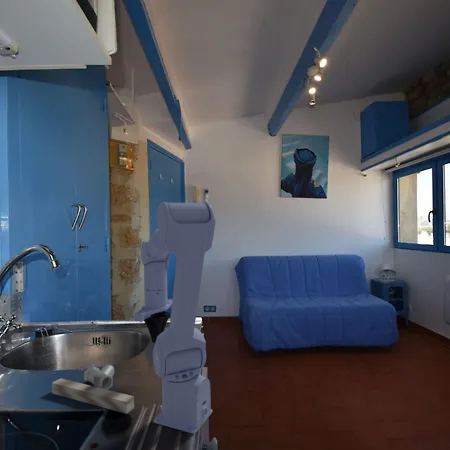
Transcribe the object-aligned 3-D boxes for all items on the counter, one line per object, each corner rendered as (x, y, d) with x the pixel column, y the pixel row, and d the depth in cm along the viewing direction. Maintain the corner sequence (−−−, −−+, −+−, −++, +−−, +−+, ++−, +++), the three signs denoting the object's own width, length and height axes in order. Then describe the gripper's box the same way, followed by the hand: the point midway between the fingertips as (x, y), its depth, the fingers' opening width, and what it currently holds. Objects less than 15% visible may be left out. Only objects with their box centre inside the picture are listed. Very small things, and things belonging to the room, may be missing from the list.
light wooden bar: (139, 403, 73) (139, 383, 73) (126, 413, 69) (126, 392, 69) (67, 385, 82) (66, 367, 82) (52, 393, 78) (51, 374, 78)
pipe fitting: (108, 375, 88) (83, 383, 83) (109, 360, 88) (84, 367, 83) (124, 385, 82) (99, 394, 77) (125, 369, 83) (100, 377, 78)
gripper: (159, 282, 92) (160, 331, 92) (123, 293, 79) (125, 350, 79) (181, 284, 89) (182, 334, 90) (148, 295, 76) (149, 354, 76)
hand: (156, 341), depth 84 cm, fingers closed
